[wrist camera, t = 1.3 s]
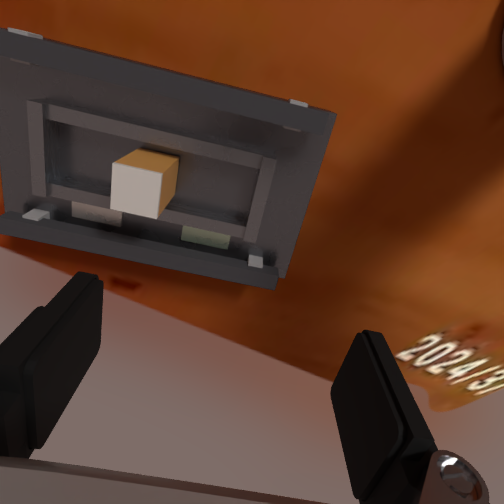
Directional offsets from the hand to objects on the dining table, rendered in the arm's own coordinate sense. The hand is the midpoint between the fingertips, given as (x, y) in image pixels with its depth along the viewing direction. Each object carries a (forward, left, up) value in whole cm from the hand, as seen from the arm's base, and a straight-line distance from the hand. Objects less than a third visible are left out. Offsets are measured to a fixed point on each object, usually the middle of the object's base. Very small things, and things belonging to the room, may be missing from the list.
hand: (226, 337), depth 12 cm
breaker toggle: (+7, 0, -17) cm, 18 cm away
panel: (+7, 0, -20) cm, 21 cm away
